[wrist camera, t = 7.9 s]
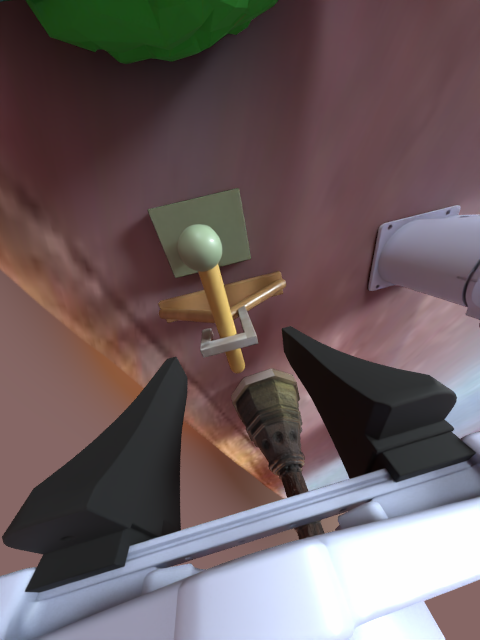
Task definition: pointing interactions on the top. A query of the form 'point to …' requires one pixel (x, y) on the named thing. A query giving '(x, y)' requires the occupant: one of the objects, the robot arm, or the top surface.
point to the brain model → (146, 24)
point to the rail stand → (206, 249)
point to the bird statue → (276, 429)
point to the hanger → (240, 301)
